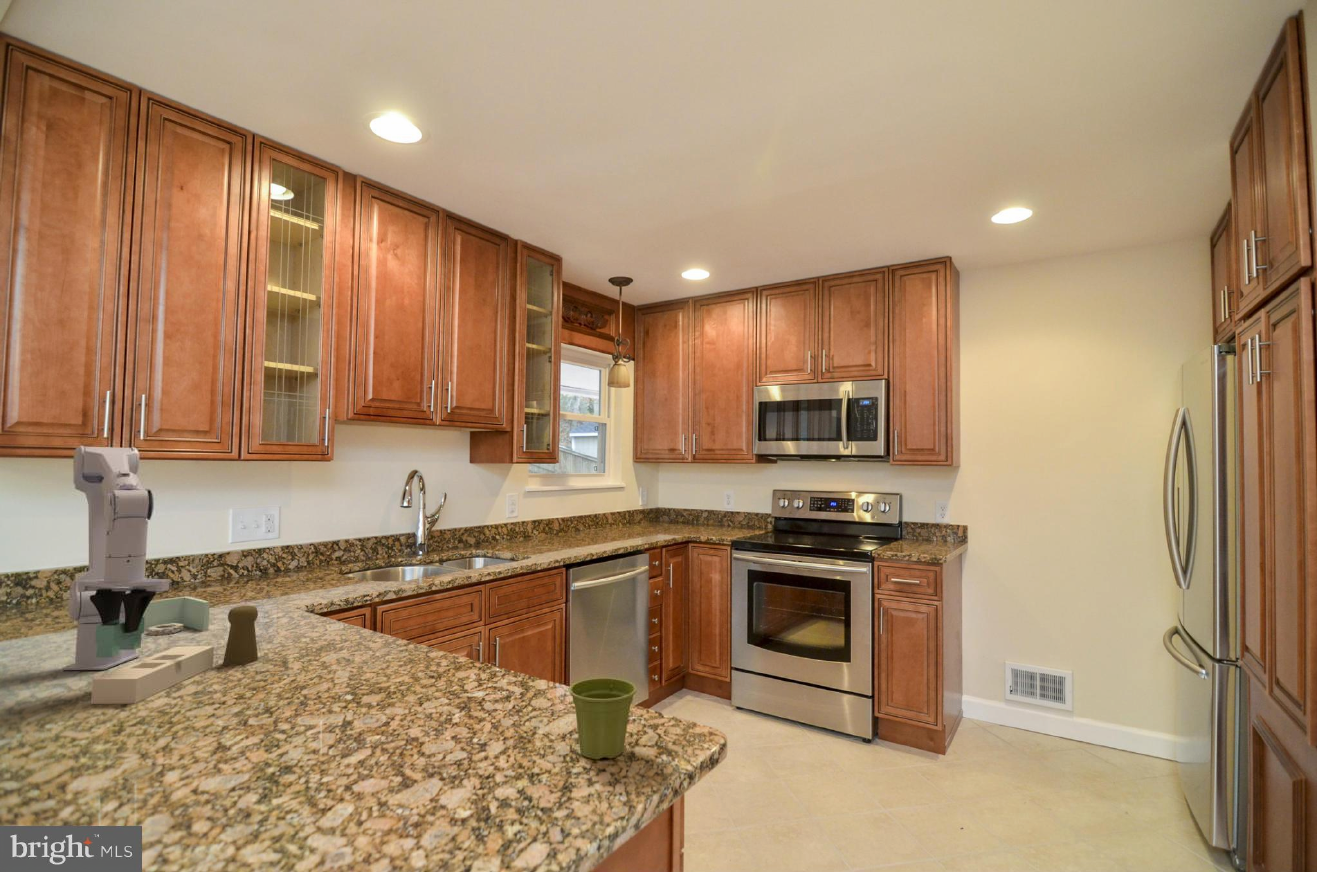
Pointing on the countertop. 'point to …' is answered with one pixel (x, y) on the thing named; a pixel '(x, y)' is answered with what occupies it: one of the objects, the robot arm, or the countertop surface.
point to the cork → (241, 636)
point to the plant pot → (602, 715)
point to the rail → (151, 675)
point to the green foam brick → (117, 638)
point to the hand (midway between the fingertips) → (121, 631)
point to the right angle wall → (176, 615)
